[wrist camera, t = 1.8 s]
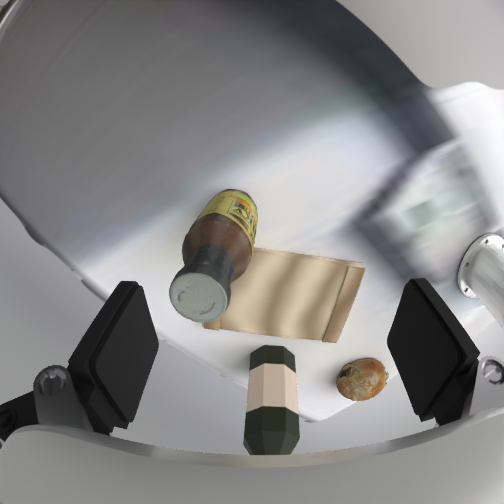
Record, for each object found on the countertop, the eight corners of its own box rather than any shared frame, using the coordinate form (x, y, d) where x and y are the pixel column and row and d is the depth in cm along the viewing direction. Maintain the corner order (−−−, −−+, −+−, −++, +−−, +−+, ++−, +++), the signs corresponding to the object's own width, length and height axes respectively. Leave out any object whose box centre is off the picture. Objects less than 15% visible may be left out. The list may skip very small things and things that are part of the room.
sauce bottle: (262, 227, 37) (256, 336, 19) (216, 236, 37) (174, 343, 20) (252, 180, 34) (233, 254, 16) (203, 190, 35) (139, 270, 17)
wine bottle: (280, 378, 50) (280, 527, 23) (241, 366, 49) (223, 522, 22) (303, 353, 47) (316, 520, 20) (261, 338, 45) (252, 519, 18)
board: (362, 263, 38) (366, 269, 36) (335, 335, 44) (337, 342, 43) (207, 241, 38) (205, 247, 36) (204, 320, 44) (202, 327, 42)
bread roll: (358, 340, 50) (351, 365, 43) (398, 363, 47) (396, 389, 40) (333, 371, 54) (323, 396, 47) (371, 392, 51) (365, 418, 44)
